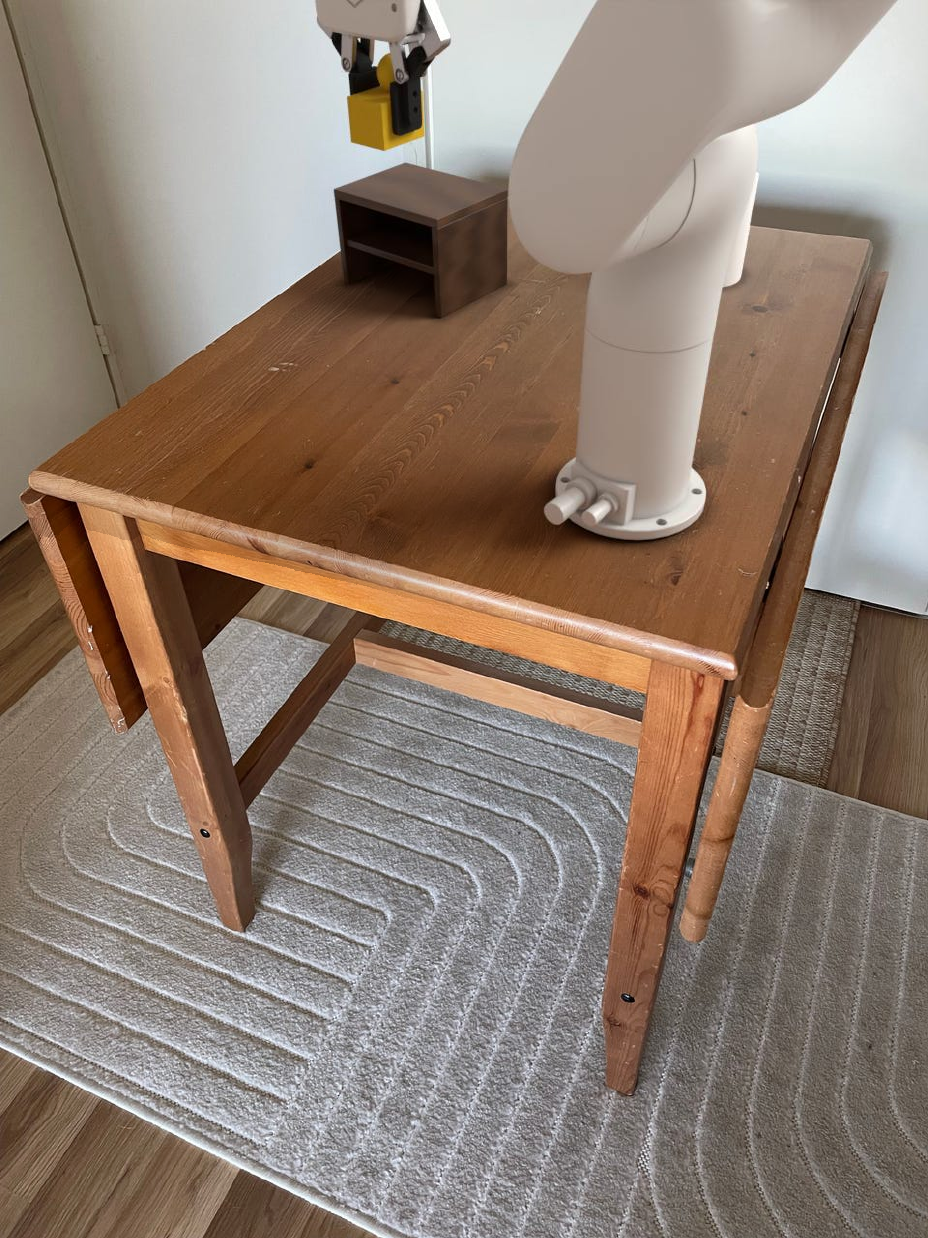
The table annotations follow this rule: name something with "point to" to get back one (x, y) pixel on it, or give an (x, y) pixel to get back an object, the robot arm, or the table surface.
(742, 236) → the cylinder with rectangular tab
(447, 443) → the table surface
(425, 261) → the shelf
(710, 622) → the table surface
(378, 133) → the duck
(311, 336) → the table surface
